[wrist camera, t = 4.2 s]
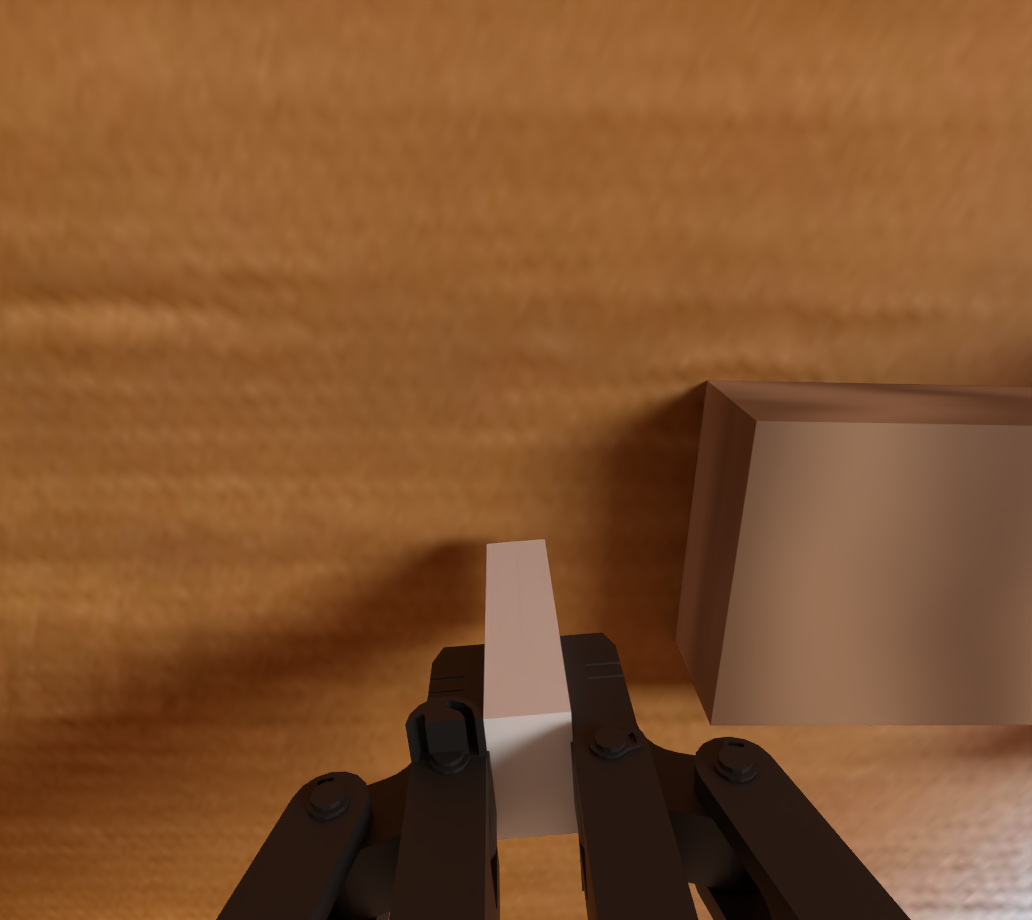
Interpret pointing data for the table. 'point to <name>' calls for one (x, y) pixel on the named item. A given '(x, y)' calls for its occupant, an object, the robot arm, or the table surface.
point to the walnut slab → (860, 555)
